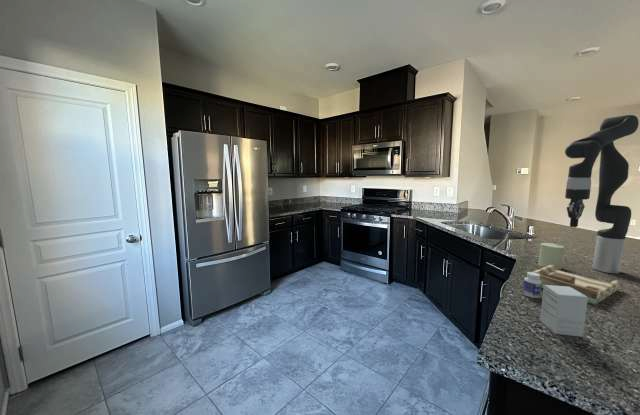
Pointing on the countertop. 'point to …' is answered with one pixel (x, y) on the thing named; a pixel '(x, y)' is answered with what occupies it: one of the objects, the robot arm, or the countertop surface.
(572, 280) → the block
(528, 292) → the pill bottle
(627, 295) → the countertop surface
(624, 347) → the countertop surface
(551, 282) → the board
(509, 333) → the countertop surface
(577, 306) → the supplement box
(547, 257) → the can
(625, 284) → the countertop surface
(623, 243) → the robot arm
